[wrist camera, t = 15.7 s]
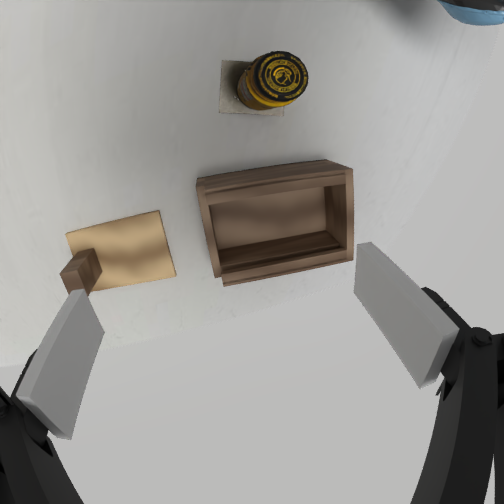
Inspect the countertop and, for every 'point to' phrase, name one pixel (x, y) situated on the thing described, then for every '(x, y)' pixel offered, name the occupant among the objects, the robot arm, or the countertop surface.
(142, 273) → the cover plate
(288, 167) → the walnut box
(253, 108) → the condiment
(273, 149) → the countertop surface
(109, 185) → the countertop surface
